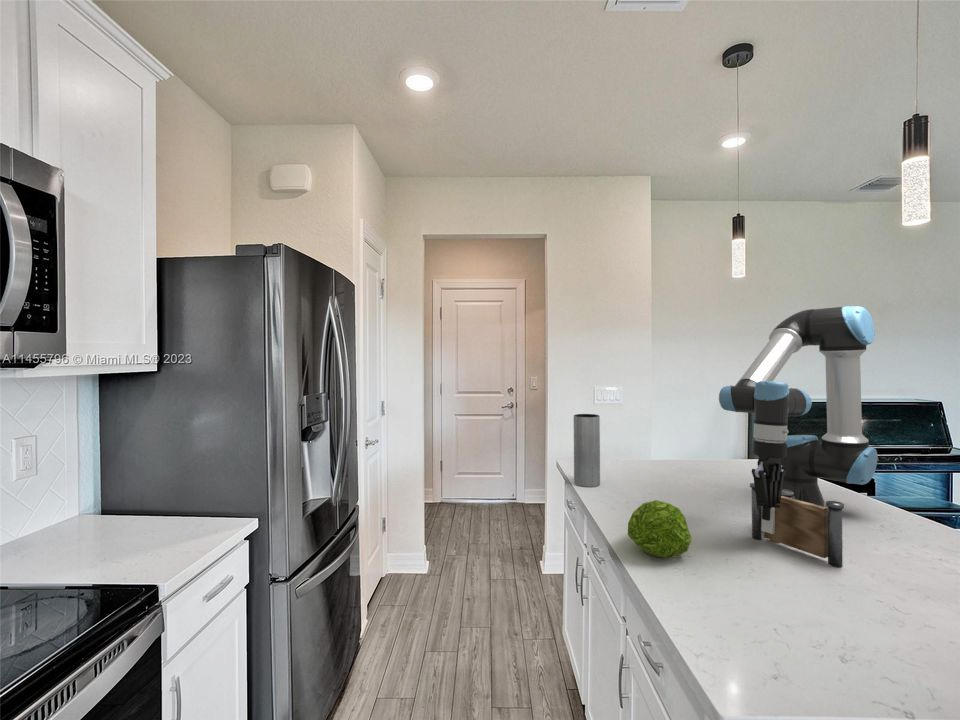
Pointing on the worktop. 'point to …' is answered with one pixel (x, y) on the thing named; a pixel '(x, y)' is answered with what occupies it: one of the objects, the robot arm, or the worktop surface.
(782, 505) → the gate
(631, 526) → the lettuce
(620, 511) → the worktop surface
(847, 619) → the worktop surface
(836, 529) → the hinge post
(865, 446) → the robot arm
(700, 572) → the worktop surface
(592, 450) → the vase
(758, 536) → the post
